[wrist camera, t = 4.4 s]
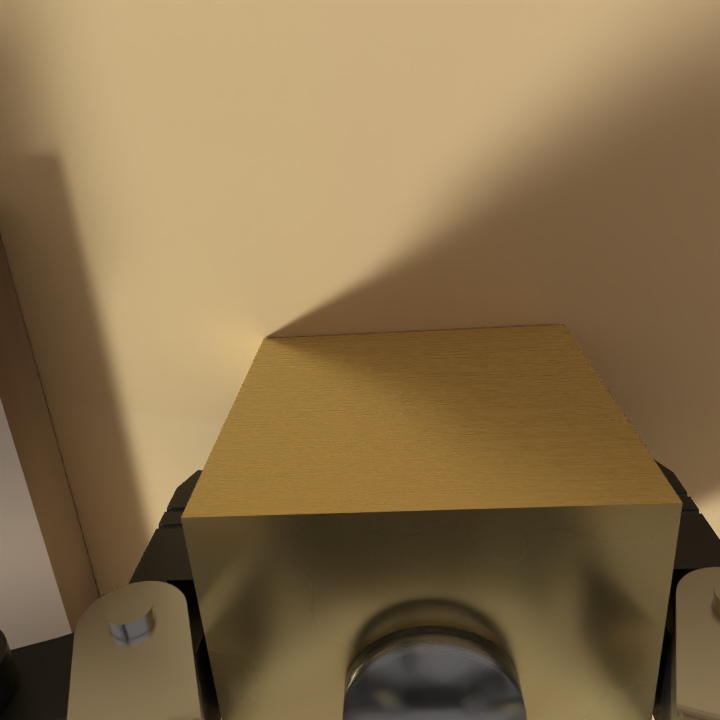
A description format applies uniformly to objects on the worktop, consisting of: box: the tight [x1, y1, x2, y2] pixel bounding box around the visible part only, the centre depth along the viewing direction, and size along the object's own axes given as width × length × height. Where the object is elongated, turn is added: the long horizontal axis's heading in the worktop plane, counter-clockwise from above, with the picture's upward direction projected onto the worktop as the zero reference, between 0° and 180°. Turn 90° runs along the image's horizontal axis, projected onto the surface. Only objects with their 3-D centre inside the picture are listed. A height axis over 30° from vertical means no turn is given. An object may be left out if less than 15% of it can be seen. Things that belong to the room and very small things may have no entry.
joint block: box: [181, 325, 683, 720], centre depth 10 cm, size 5×5×5 cm
